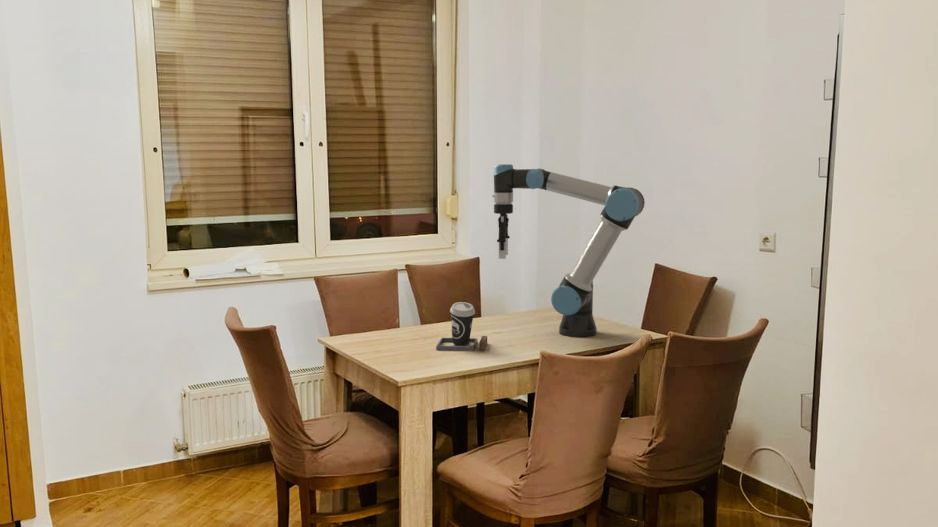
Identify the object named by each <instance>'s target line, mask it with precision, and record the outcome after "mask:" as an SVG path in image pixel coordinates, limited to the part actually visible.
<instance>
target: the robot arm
mask: <svg viewBox="0 0 938 527" xmlns="http://www.w3.org/2000/svg"><path fill="white" fill-rule="evenodd" d="M514 189H530V190H534V189H535V190H536V189H537V190H538V189H540V190H544V191H548V192H551V193H556V194H560V195H564V196H567V197H571V198H575V199H579V200H583V201H586V202H591V203H594V204H598V205H602V206H604V207H603V209H602V210H601V213H600V219H601V220H600V222H599V224H598V225H597V227H596V229H595V231H594V233H593V234H592V236H591V238H590V240H589V241H588V243H587V245H586V247H585V248H584V249H583V251H582V253H581V255H580V257H579V258H578V260H577V262H576V264H575V265H574V267H573V269H572V271H571V272H570V273H566V274H565V275H564V277H563V278H562V280H561V282H560V283H559V285H558V286H557V287H556V288H555V289H554V290H553V292H552V294H551V298H550V300H551V306H552V307H553V309H554V310H555V311H556V312H557V313H558V314H560V315H562V318H561V321H560V323H559V328H558V333H559V334H560V335H563V336H566V337H577V338H580V337H582V338H583V337H584V338H586V337H593V336H595V335H597V330H598V329H597V326H596V321H595V319H594V313H593V309H594V308H593V305H594V304H593V303H594V302H593V301H594V300H593V299H594V298H593V297H594V291H593V290H594V279H595V277H596V275H597V274H598V273H599V271H600V269H601V267H602V265H603V264H604V262H605V260H606V259H607V257H608V255H609V254H610V252H611V250H612V248H613V246H614V245H615V243H616V242H617V240H618V238H619V236H620V235H621V233H622V232H623V231H627V230H628V229H629V228H630V226H631V225H632V222H633V221H634V219H635V218H636V217H638V216H639V215H640V214H641V213H642V211H643V210H644V209H645V202H646V201H645V197H644V195H643V194H642V192H641V191H640V190H638V189H637V188H634V187H626V186H618V185H613V186H610V185H609V186H608V185H605V184H600V183H597V182H592V181H588V180H586V179H585V180H583V179H580V178H576V177H572V176H568V175H564V174H560V173H556V172H552V171H548V170H546V169H544V168H530V169H529V168H526V169H520V168H519V169H517V168H514V165H513V164H507V163H506V164H503V163H502V164H501V163H500V164H495V166H494V169H493V195H491V196H492V198H494V199H493V202H494V205H493V213H494V214H498V215H499V217H498V219H497V222H498V223H497V224H498V239H496V243H498V259H500V260H501V259H502V260H503V259H504V260H506V259H507V258H506V256H508V255H509V239H510V237H511V236H510V235H509V221H510V219H509V216H508V215H509V214H513V213H514V206H513V202H514Z"/></svg>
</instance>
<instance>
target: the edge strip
mask: <svg viewBox="0 0 938 527" xmlns="http://www.w3.org/2000/svg"><path fill="white" fill-rule="evenodd" d="M487 345H488V335H482V336H481V337H480V340H479V342H478V351H479V352H485V351H486V349H487Z"/></svg>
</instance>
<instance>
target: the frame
mask: <svg viewBox="0 0 938 527" xmlns="http://www.w3.org/2000/svg"><path fill="white" fill-rule="evenodd" d="M443 343H453V342H452V337H441V338H440V340H439V341H438V343H437V344H436V347H435V350H436V351H437V350H438V351H467V352H470V351H475V348H476V346H477V345H478V343H479V342H478V337H477V338H475V337H470V340H469V343H473V344H472V346H468V345H465V346H458V345H442V344H443Z"/></svg>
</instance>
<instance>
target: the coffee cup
mask: <svg viewBox="0 0 938 527" xmlns="http://www.w3.org/2000/svg"><path fill="white" fill-rule="evenodd" d="M449 312H450V314H451V315H450V318H451V338H452V342H451V343H452V344H454V346H468V345H469V343H470V342H469V340H470V338H471V333H472V326H473V321H474V315H475V314H476V310H475V307H474V305H473V304H471V303H470V302H465V301H464V302H463V301H460V302H459V301H458V302H455V303H453V304H452V306H451V307H450V309H449Z"/></svg>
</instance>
